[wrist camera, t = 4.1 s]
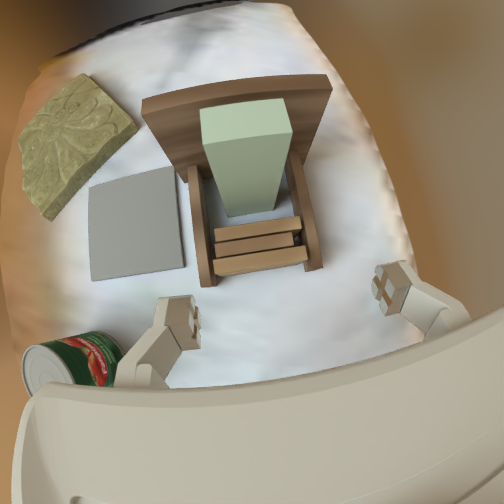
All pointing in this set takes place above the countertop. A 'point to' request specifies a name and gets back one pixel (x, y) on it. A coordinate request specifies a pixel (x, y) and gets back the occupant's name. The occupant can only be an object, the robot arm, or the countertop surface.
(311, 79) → the walnut rack
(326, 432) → the robot arm
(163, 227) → the grey mat
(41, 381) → the canned tomato
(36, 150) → the decorative tile
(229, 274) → the offcut stack
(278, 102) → the pale green block
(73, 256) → the countertop surface
